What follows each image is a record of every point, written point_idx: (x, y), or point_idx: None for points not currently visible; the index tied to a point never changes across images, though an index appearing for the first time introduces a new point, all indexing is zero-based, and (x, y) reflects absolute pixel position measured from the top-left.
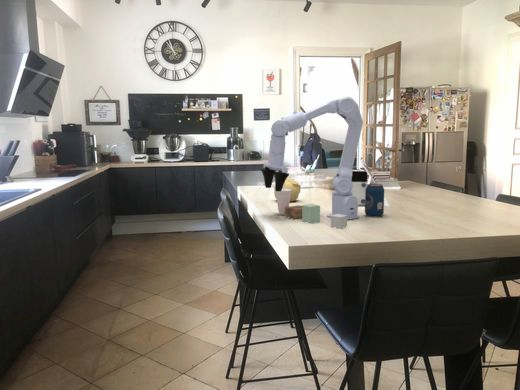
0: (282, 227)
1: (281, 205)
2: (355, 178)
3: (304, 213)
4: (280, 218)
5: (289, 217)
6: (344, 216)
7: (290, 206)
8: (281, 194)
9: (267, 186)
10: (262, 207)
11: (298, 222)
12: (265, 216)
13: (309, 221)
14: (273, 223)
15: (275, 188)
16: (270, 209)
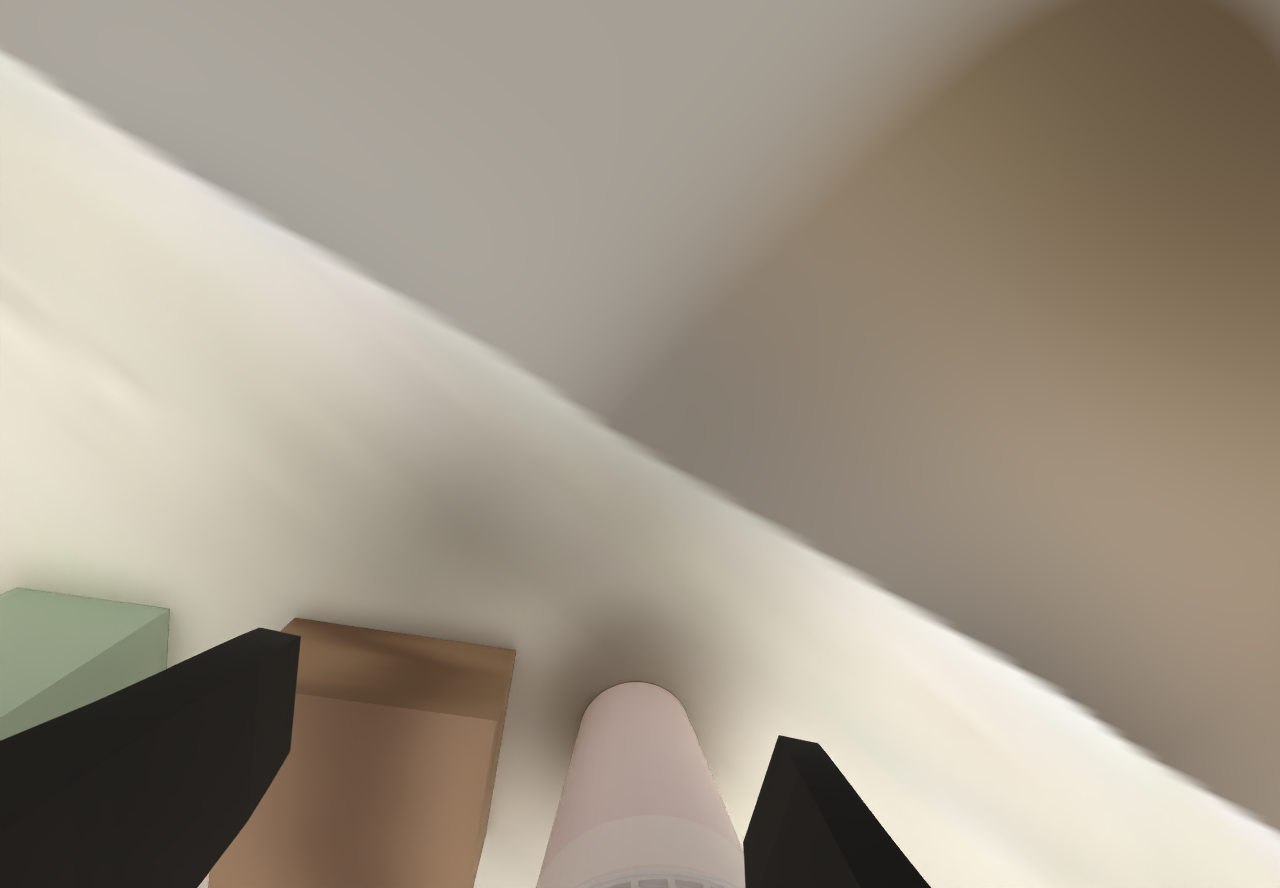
0: (25, 195)
1: (604, 754)
2: None
3: (38, 653)
4: (466, 542)
5: (417, 639)
6: None
7: (472, 798)
8: (581, 882)
9: (776, 791)
10: (1114, 824)
11: (145, 535)
12: (684, 495)
13: (7, 599)
14: (288, 279)
15: (249, 655)
16: (954, 810)
